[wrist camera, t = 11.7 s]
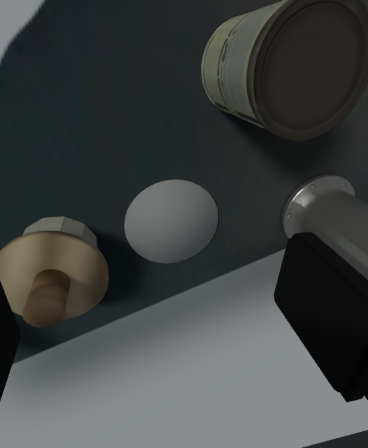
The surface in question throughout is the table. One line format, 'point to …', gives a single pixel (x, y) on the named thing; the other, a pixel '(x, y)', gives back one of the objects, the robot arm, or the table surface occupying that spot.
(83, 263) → the lid
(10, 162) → the table surface
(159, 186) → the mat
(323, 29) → the coffee can
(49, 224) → the bowl
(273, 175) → the table surface
